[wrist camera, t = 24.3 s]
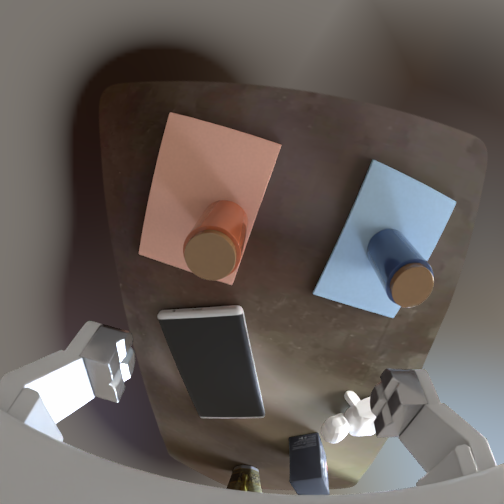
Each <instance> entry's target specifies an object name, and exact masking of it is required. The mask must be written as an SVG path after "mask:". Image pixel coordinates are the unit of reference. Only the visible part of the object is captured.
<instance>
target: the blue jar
mask: <svg viewBox="0 0 504 504" xmlns="http://www.w3.org/2000/svg"><path fill="white" fill-rule="evenodd" d="M367 258H368V260H369V262H370V264H371V266H372V268H373V269H374V271H375V273H376V275H377V277H378V279H379V281H380V283H381V284H382V286H383V288H384V290H385V292H386V294H387V296H388V298H389V299H390V300H391V301H392V302H393V303H395V304H398V305H399V306H401V307H407V308H408V307H414V306H417V305H419V304H421V303H422V302H423V301H425V300H426V299H427V297H428V296H429V295H430V293H431V291H432V289H433V285H434V278H433V271H432V268H431V266H430V265H429V264H428V262H427V261H426V260H425V259H424V258H423V257H422V255H421V254H420V253H419V252H418V251H417V250H416V248H415V247H414V246H413V245H412V244H411V243H410V242H409V240H408V239H407V238H406V237H405V236H404V235H403V234H402V233H401V232H400V231H398V230H395V229H384V230H381V231H379V232H378V233H376V234H375V235H374V236H373V237H372V238H371V240H370V241H369V243H368V246H367Z"/></svg>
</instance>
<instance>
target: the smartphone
mask: <svg viewBox="0 0 504 504" xmlns="http://www.w3.org/2000/svg"><path fill="white" fill-rule="evenodd" d="M158 320H159V323H160V325H161V328H162V330H163V333H164V336H165V338H166V341H167V343H168V346H169V348H170V351H171V353H172V356H173V358H174V360H175V363H176V365H177V368H178V370H179V372H180V375H181V377H182V379H183V382H184V384H185V386H186V388H187V391H188V393H189V395H190V397H191V399H192V402H193V404H194V406H195V408H196V410H197V412H198V414H199V416H200V417H201V418H215V419H243V418H263V417H264V416H265V410H264V406H263V401H262V397H261V392H260V388H259V383H258V378H257V374H256V369H255V364H254V360H253V355H252V350H251V346H250V341H249V336H248V331H247V327H246V322H245V317H244V312H243V309H242V307H241V306H239V305H231V306H218V307H204V308H188V309H171V310H161V311H160V312H159V313H158Z"/></svg>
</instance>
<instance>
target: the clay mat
mask: <svg viewBox="0 0 504 504" xmlns="http://www.w3.org/2000/svg"><path fill="white" fill-rule="evenodd" d="M280 148H281V145H280V144H278V143H275V142H272V141H269V140H266V139H263V138H260V137H257V136H253V135H250V134H247V133H244V132H241V131H238V130H234V129H231V128H228V127H224V126H221V125H217V124H214V123H210V122H207V121H203V120H199V119H196V118H192V117H188V116H184V115H180V114H176V113H172V112H170V113H169V117H168V120H167V124H166V127H165V131H164V135H163V139H162V143H161V147H160V151H159V155H158V159H157V163H156V167H155V172H154V176H153V181H152V185H151V190H150V194H149V199H148V204H147V209H146V214H145V220H144V225H143V231H142V236H141V242H140V248H139V254H140V255H143V256H146V257H148V258H151V259H154V260H157V261H160V262H163V263H166V264H169V265H172V266H175V267H178V268H181V269H184V270H187V271H190V272H192V271H191V270H190V269H189V268H188V266H187V264H186V262H185V258H184V255H183V245H184V241H185V239H186V237H187V236H188V234H189V233H190V231H191V230H192V228H193V227H194V225H195V224H196V222H197V221H198V219H199V218H200V216H201V215H202V213H203V212H204V210H205V209H206V208H207V207H208V206H209V205H210V204H211V203H213V202H216V201H219V200H228V201H232V202H235V203H236V204H238V205H239V206H240V207H242V209H243V210H244V211H245V213H246V215H247V218H248V230H247V234H246V238H245V243H244V247H243V251H242V256H243V253H244V250H245V247H246V244H247V241H248V239H249V236H250V233H251V230H252V227H253V224H254V221H255V219H256V216H257V213H258V210H259V207H260V204H261V202H262V199H263V196H264V193H265V190H266V187H267V185H268V182H269V179H270V176H271V173H272V170H273V168H274V165H275V162H276V159H277V156H278V154H279V151H280ZM242 256H241V259H242ZM240 261H241V260H240ZM239 264H240V263H239ZM238 267H239V265H238ZM238 267H237V269H236V270H235V271H234V272H233V273H232V274H230V275H228V276H226V277H224V278H222V279H219V280H217V281H220V282H223V283H226V284H230V285H232V284H233V282H234V279H235V276H236V273H237V270H238Z"/></svg>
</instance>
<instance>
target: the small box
mask: <svg viewBox="0 0 504 504" xmlns="http://www.w3.org/2000/svg"><path fill="white" fill-rule="evenodd" d="M289 453H290V480H289V482H290V483H291V485H292V486H293V488H294V490H295V491H296V493H297V494H298V495H329V484H328V471H327V461H326V454H325V451H324V448H323V445H322V442H321V439H320V436H319V433H313V434H308V435H302V436H296V437H289Z"/></svg>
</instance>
